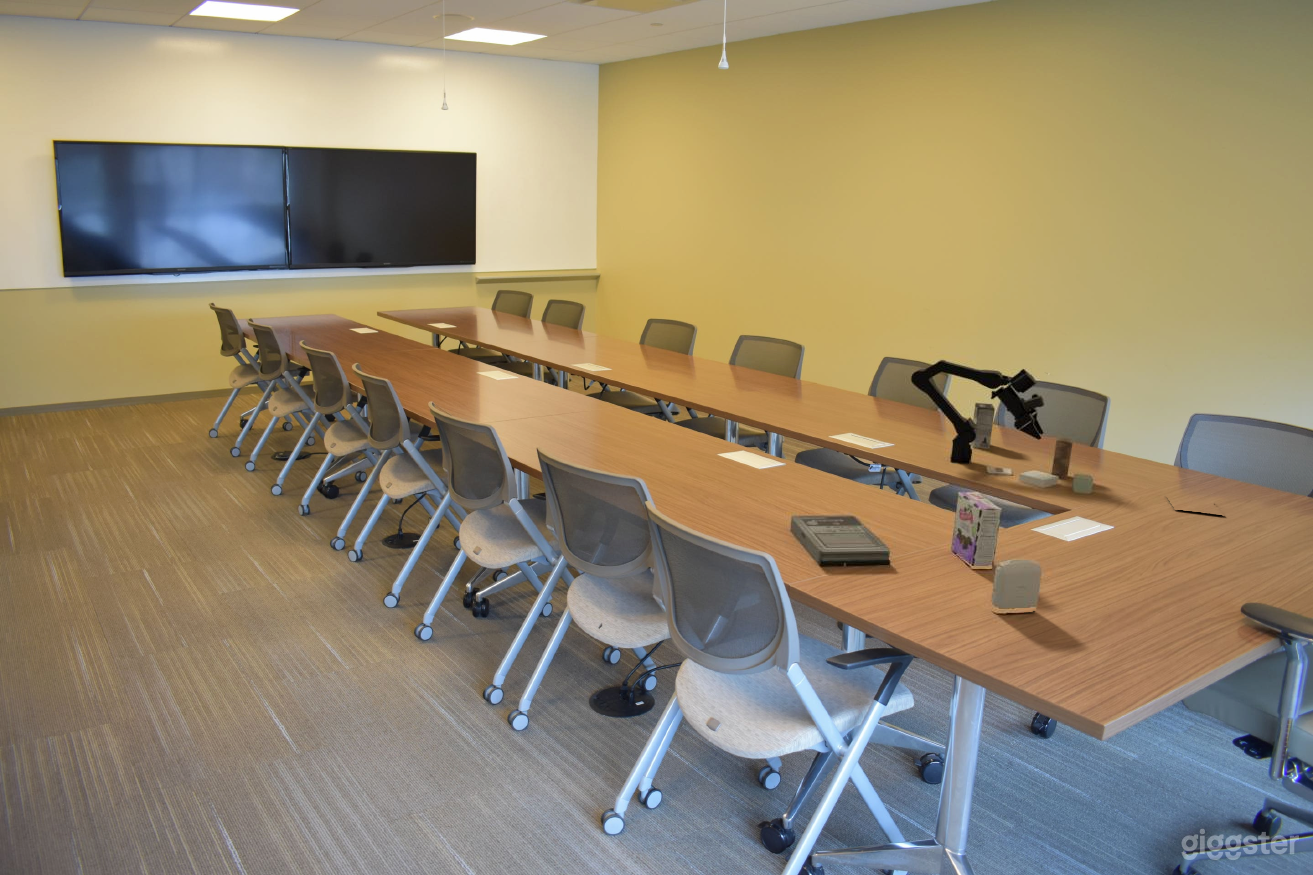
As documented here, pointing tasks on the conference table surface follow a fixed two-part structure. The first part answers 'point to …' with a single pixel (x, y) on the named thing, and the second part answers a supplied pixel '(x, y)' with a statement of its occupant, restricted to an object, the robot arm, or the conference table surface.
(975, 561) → the candy box
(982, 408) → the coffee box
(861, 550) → the hard drive
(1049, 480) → the grey base block
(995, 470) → the card
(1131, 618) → the conference table surface
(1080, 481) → the sage cube
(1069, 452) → the walnut pillar
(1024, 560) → the photo printer
